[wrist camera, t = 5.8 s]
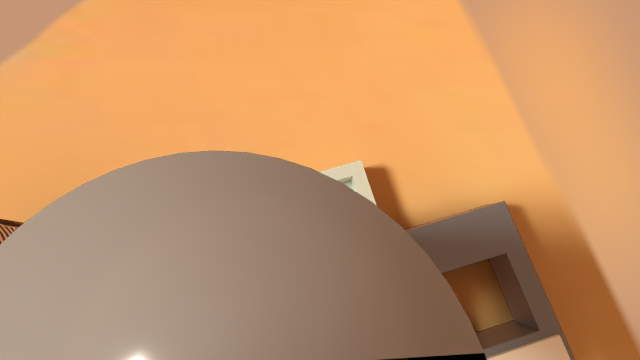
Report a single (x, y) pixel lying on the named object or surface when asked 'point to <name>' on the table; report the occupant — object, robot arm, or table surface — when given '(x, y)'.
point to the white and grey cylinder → (223, 271)
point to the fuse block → (499, 280)
